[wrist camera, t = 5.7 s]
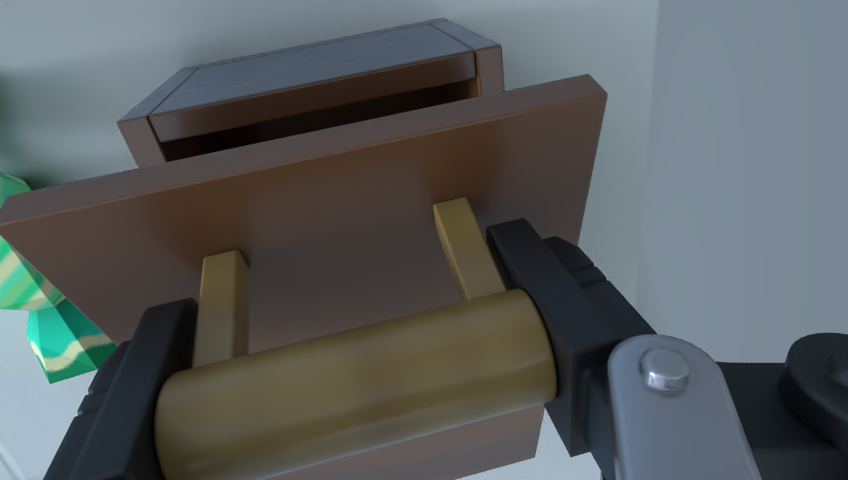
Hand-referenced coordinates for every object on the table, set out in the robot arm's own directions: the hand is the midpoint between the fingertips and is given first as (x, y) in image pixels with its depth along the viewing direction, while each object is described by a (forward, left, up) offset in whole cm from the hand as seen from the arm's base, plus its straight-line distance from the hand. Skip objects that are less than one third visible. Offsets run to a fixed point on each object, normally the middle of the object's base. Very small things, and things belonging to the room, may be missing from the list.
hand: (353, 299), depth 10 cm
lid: (+6, 0, -4) cm, 7 cm away
